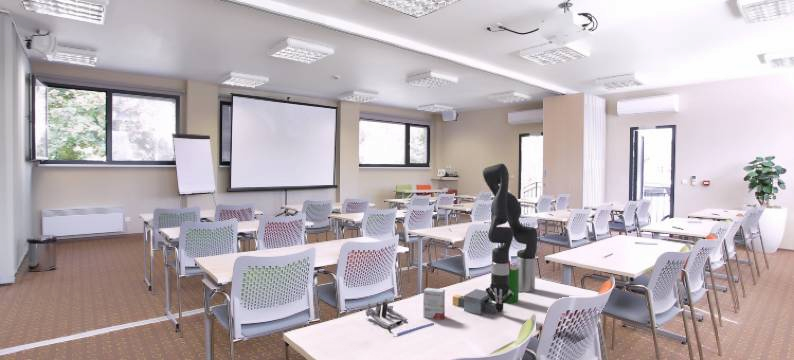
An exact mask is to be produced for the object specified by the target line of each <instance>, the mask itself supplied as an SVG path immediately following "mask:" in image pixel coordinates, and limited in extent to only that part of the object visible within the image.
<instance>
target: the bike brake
mask: <svg viewBox="0 0 794 360" xmlns="http://www.w3.org/2000/svg"><path fill="white" fill-rule="evenodd" d="M393 308H394V306H393V305H389V304H388V298H384V300H383V301H382V305H381V304H379V303H378V302H376V305H375V309H373V308H372V307H371V302H368V303H367V308H366V309H365V316H366V317H369V316H370V317H372V319H374V320H375V322H376V323H378V324H379V325H380V326H383V327H384V328H385V329H388V332H389V333H390V334H391V333H393V332H392V331H391V328H394V327H396V326H397V325H401V324H402V323H407V321H408V320H409V319H408V318H406V317H405V316H404V315H402V314H400V313H399V312H397V311H395V310H393ZM387 314H389V315H392V316H395V317H398V318H399V319H400V320H398V321H396V322H391V323H385V322H384V321H382V320H381V318H380V317H383V318H384V319H386V318H387Z"/></svg>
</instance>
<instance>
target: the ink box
mask: <svg viewBox="0 0 794 360" xmlns="http://www.w3.org/2000/svg"><path fill="white" fill-rule="evenodd" d="M445 293H446V290H445V289H441V288H431V287H425V289H424V290H423V311H422V312H423V314H422V315H423V318H427V319H435V320H443V319H444V318H445V315H446V314H445V313H446V312H445V311H446V307H445V306H446V304H445V302H446V300H445V299H446V296H445V295H446V294H445Z"/></svg>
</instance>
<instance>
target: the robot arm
mask: <svg viewBox="0 0 794 360" xmlns="http://www.w3.org/2000/svg"><path fill="white" fill-rule="evenodd" d="M509 175H510V174H509V170H508V167H507V165H506V164H505V163H498V164H495V165H491V166H487V167H485V168H483V169H482V176H483V180H484V182H485V183H486V185H487V187H488V188H489V190H490V191H491V192H492V194H493V195H494V198H493V199H492V202H491V205H490V212H491V214H490V215H491V220H490V221H491V222H490V227H489V230H488V234H487V238H488V240H489V241H490V242H491V243H494V244H503V245H502V246H499V247H495V248H493V249H492V251H491V252H492V253H491V267H490V269H491V270H490V276H491V277H490V285H489V287H487V288H485V291H486V292H487V293H488V295H489V296H490V298H491V300H492V302H494V303H496V313H497V312H498V313H501V312H503V311H504V304H507V303H506V302H508V301H509V300H510V298H511V297H512V296H513V295H514V292H511V291H510V288H509V260H510V259H509V258H510V257H509V256H510V248H511V245H512V242H513V239H514V240H515V242H516V243H518V244H521V245H525V248H524V249H519V250H518V251H517V253H516V269H517V268H519V292H523V293H531V292H535V291H536V290H535V287H536V255H537V247H538V237H539V235H538V229H536V228H535V227H532V226H525V225H523V224H521V222H520V217H521V214H522V207H521V206H522V205H521V204H520V202H519V200H518V198H517V197H516V196H515V195H514V194H512V193H511V192H510V191H509V184H510V183H509V180H510V176H509ZM506 223H508V226H509V227H508V226H502V225H505V224H506ZM507 292H508V296H507V298H506V299H505V300H504V297H505V295H506V293H507Z"/></svg>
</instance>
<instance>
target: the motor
mask: <svg viewBox="0 0 794 360" xmlns="http://www.w3.org/2000/svg"><path fill="white" fill-rule="evenodd" d="M509 288H510V291H511V292H514V295H513V296H512V297H511V298H510V300H509V301H508V302H506V303H505V304H516V303H518V302H519V292H520V291H519V268H517V267H516V269H513V268H512V269H511V260H510V259H509ZM507 296H508V292H507V293H506V295H505V297H504V300H505V299H506V298H507Z"/></svg>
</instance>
